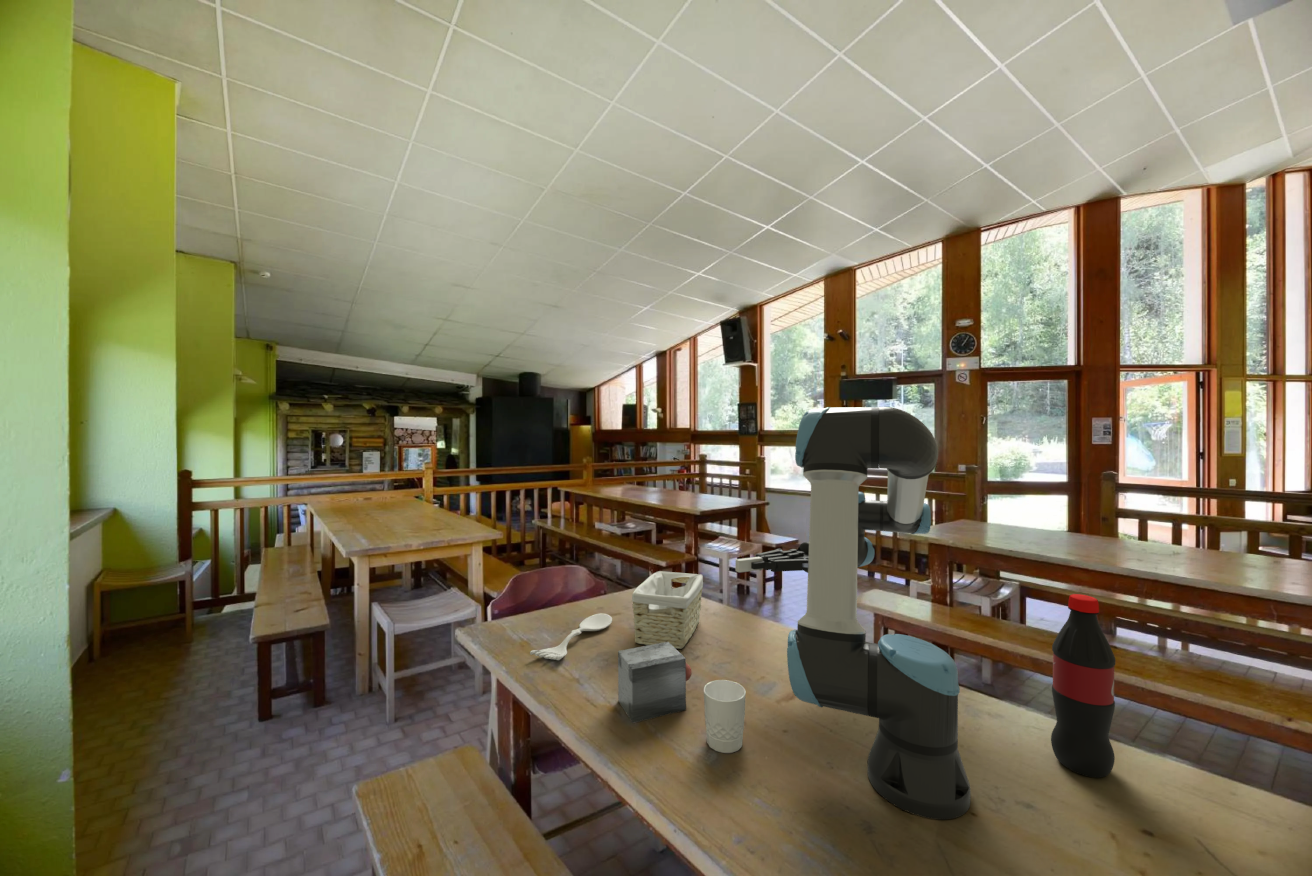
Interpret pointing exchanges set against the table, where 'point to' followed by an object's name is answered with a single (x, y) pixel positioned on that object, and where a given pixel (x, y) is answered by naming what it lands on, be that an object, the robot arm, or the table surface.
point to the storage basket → (667, 608)
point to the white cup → (724, 715)
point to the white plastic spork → (587, 624)
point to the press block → (651, 681)
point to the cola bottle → (1083, 691)
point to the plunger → (688, 672)
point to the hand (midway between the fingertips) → (737, 565)
